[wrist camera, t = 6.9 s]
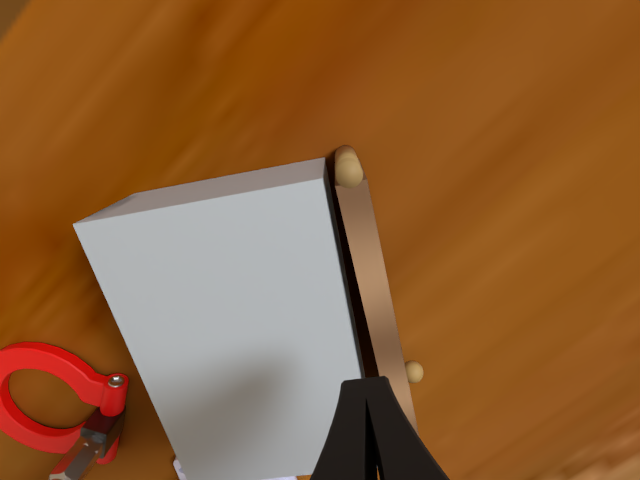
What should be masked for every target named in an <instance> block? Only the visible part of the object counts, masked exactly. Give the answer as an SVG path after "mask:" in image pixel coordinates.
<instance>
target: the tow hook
mask: <svg viewBox="0 0 640 480" xmlns="http://www.w3.org/2000/svg"><path fill="white" fill-rule="evenodd" d="M25 368H27V369H39V370H42V371H46V372H49V373H51V374H53V375H55V376H57V377H59V378H61V379H62V380H63V381H65V382H66V383H67V384H69V385H70V386H71V387H72V388H73V390H74V391H75V392H76V393H77V394H78V396H79V398H80V400H82V401H83V402H85V403H88V404H91V405H95V406H98V408H97V409H96V410H95V412H94V413H93V414H92V415H91V416H90V418H89V419H88V420H87V421H85V422H83V423H82V424H80V425H78V426H76V427H74V428H69V429H54V428H50V427H46V426H43V425H41V424H39V423H37V422H35V421H33V420H32V419H30V418H29V417H27V416H26V415H24V414H23V413H22V412H21V411H20V410H19V409H18V408H17V406H16V405H15V403H14V402H13V400H12V399H11V396H10V393H9V390H8V381H9V378H10V375H11V373H12V372H14V371H15V370H20V369H25ZM128 382H129V379H128V377H127V376H126V375H124V374H121V373H115V374H111V375H109V376H104V375H101V374H98V373H96V372H95V371H94V370H93V369H92V368H91V367H90V366H89V365H88V364H86V363H85V362H84V361H82V360H81V359H80V358H78V357H77V356H76V355H74V354H72V353H69V352H67V351H65V350H63V349H61V348H59V347H56V346H52V345H48V344H45V343H39V342H21V343H16V344H12V345H8V346H6V347H5V348H3V349H1V350H0V429H1V430H2V431H3V432H4V433H6V434H7V435H9V436H10V437H12V438H13V439H15V440H16V441H18V442H20V443H22V444H24V445H26V446H29V447H31V448H33V449H37V450H41V451H44V452H48V453H61V454H65V456H64V457H63V458H62V459H61V461H60V462H59V463H58V464H57V466H56V467H55V468H54V469H53V471H52V472H51V473H50V475H49V480H84V478H85V477H86V475H87V474H88V472H89V471H90V470H91V468H92V467H93V465H94V464H95V462H96V463H98V464H107V463H109V462H111V461H112V460H113V459H114V458H115V457H116V454H117V448H118V442H119V436H120V434H121V432H122V428H123V422H124V416H125V410H126V405H125V400H126V394H127V388H128Z"/></svg>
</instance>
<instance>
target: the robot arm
mask: <svg viewBox="0 0 640 480" xmlns="http://www.w3.org/2000/svg"><path fill="white" fill-rule="evenodd" d="M173 466H174V468H175V470H176V472H177V474H178V476H179V479H180V480H187V479H186V477H185V474H184V472H183V470H182V468H181V465H180V463H179V461H178V459H177V457H176V458H175V460H174V462H173ZM377 467H378V472H379V476H380V480H450V479H449V478H448V477H447V475H446V474H445V473H444V472H443V470H442V469H441V468H440V466H439V465H438V464H437V462H436V461H435V460H434V458H433V457H432V455H431V454H430V452H429V451H428V450H427V448H426V447H425V445H424V444H423V442H422V441H421V439H420V438H419V436H418V435H417V433H416V432H415V430H414V428H413V427H412V425H411V424H410V422H409V420H408V419H407V417H406V415H405V413H404V412H403V410H402V408H401V406H400V404H399V402H398V400H397V398H396V396H395V394H394V392H393V390H392V387H391V385H390V382H389V379H388V378H387V377H386V376H378V377H369V378H361V379H352V380H344V381H343V382H342V383H341V388H340V394H339V399H338V403H337V407H336V410H335V414H334V417H333V421H332V424H331V427H330V430H329V433H328V436H327V439H326V441H325V444H324V447H323V449H322V451H321V454H320V456H319V459H318V461H317V464H316V466H315V469H314V471H313V473H312V475H311V478H310V480H378V478H377ZM262 480H297V478H296V476H290V477H281V478H272V479H262Z"/></svg>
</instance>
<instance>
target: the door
mask: <svg viewBox="0 0 640 480" xmlns="http://www.w3.org/2000/svg"><path fill="white" fill-rule="evenodd" d="M335 188H336V192H337V196H338V201H339V205H340V209H341V214H342V218H343V222H344V226H345V231H346V235H347V239H348V243H349V248H350V252H351V256H352V260H353V265H354V269H355V273H356V278H357V282H358V286H359V290H360V295H361V299H362V303H363V307H364V312H365V316H366V320H367V325H368V329H369V333H370V337H371V342H372V346H373V350H374V354H375V359H376V363H377V367H378V372H379V376H386V377H387V378H388V379H389V382H390V385H391V387H392V390H393V392H394V394H395V396H396V398H397V400H398V402H399V404H400V406H401V408H402V410H403V412H404V413H405V415H406V417H407V419H408V420H409V422H410V424H411V425H412V427H413V428H414V430H415V432H416V433H417V435H418V436H419V433H418V428H417V423H416V418H415V413H414V408H413V404H412V399H411V394H410V389H409V384H408V382H410V383H417V382H419V381H420V380H421V379H422V377H423V368H422V366H421V365H420V364H419V363H418V362H416V361H407V362H406V363H405V364H404V359H403V354H402V349H401V344H400V339H399V334H398V329H397V324H396V320H395V315H394V310H393V305H392V300H391V295H390V290H389V285H388V280H387V275H386V270H385V265H384V260H383V255H382V250H381V245H380V241H379V236H378V231H377V226H376V221H375V216H374V211H373V206H372V201H371V196H370V191H369V186H368V181H367V178H366V175H365V173H364V170H363V168H362V166H361V163H360V161H359V159H358V158H357V156H356V153H355V151H354V149H353V148H352V147H351V146H348V145H342V146H340V147H339V148H338V149H337V150H336V152H335Z"/></svg>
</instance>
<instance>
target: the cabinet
mask: <svg viewBox="0 0 640 480" xmlns="http://www.w3.org/2000/svg"><path fill="white" fill-rule="evenodd" d="M73 226H74V228H75V231H76V233H77V235H78V237H79V240H80V242H81V244H82V246H83V249H84V251H85V253H86V255H87V258H88V260H89V262H90V264H91V266H92V269H93V271H94V273H95V275H96V278H97V280H98V282H99V284H100V287H101V289H102V291H103V293H104V296H105V298H106V300H107V302H108V304H109V307H110V309H111V311H112V313H113V316H114V318H115V320H116V322H117V325H118V327H119V329H120V331H121V334H122V336H123V338H124V340H125V342H126V345H127V347H128V349H129V351H130V354H131V356H132V358H133V360H134V363H135V365H136V367H137V369H138V372H139V374H140V376H141V378H142V380H143V383H144V385H145V387H146V389H147V392H148V394H149V396H150V398H151V401H152V403H153V405H154V407H155V410H156V412H157V414H158V416H159V419H160V421H161V423H162V425H163V427H164V430H165V432H166V434H167V436H168V439H169V441H170V443H171V445H172V448H173V450H174V452H175V454H176V457H177V459H178V461H179V463H180V465H181V468H182V470H183V472H184V474H185V477H186V479H187V480H262V479H272V478H281V477H290V476H299V475H309V474H312V473H313V471H314V469H315V466H316V464H317V461H318V459H319V456H320V454H321V451H322V449H323V447H324V444H325V441H326V439H327V436H328V433H329V430H330V427H331V424H332V421H333V417H334V414H335V410H336V407H337V403H338V399H339V394H340V388H341V383H342V382H343V381H344V380H352V379H361V378H366V377H365V372H364V366H363V361H362V356H361V350H360V345H359V339H358V334H357V329H356V323H355V318H354V312H353V307H352V302H351V296H350V291H349V285H348V280H347V275H346V269H345V264H344V259H343V253H342V248H341V242H340V237H339V232H338V226H337V221H336V215H335V210H334V205H333V199H332V194H331V188H330V183H329V178H328V172H327V167H326V161H325V157H324V158H318V159H313V160H308V161H303V162H297V163H292V164H287V165H282V166H276V167H271V168H266V169H260V170H255V171H250V172H245V173H239V174H234V175H229V176H224V177H218V178H213V179H208V180H203V181H197V182H192V183H187V184H181V185H176V186H171V187H166V188H160V189H155V190H150V191H145V192H139V193H134V194H132V195H130V196H128V197H126V198H124V199H122V200H120V201H118V202H116V203H114V204H112V205H110V206H108V207H106V208H104V209H102V210H100V211H98V212H96V213H94V214H92V215H90V216H88V217H86V218H84V219H82V220H80V221H78V222H76V223H74V224H73Z"/></svg>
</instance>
